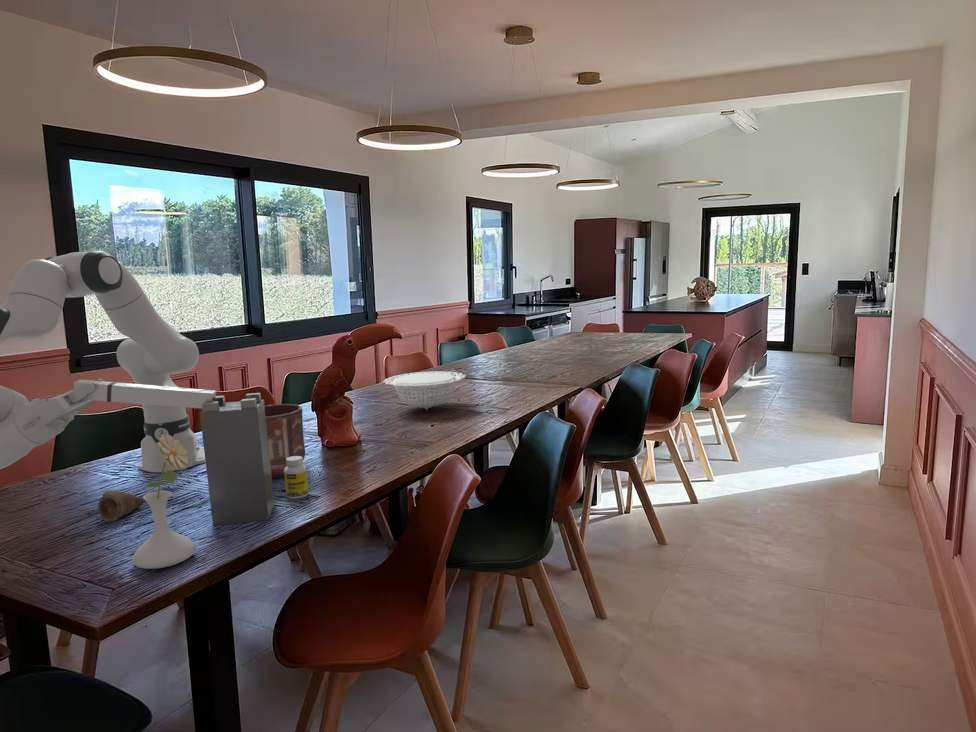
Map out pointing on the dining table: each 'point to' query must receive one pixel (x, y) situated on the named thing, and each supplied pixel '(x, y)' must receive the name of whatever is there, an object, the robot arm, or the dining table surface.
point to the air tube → (147, 394)
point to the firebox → (237, 460)
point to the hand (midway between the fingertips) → (98, 383)
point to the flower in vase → (164, 516)
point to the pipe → (117, 504)
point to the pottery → (284, 435)
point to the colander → (425, 386)
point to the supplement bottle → (295, 478)
